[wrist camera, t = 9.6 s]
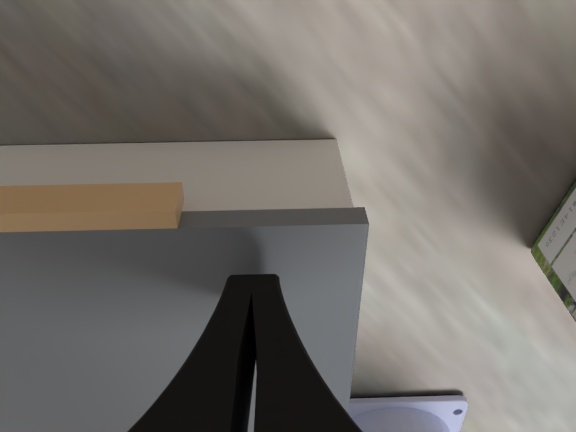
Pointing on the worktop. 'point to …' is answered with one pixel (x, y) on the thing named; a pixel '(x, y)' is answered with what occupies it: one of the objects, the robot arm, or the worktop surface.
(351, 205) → the storage box
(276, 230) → the lid
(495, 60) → the worktop surface
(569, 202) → the syrup box
